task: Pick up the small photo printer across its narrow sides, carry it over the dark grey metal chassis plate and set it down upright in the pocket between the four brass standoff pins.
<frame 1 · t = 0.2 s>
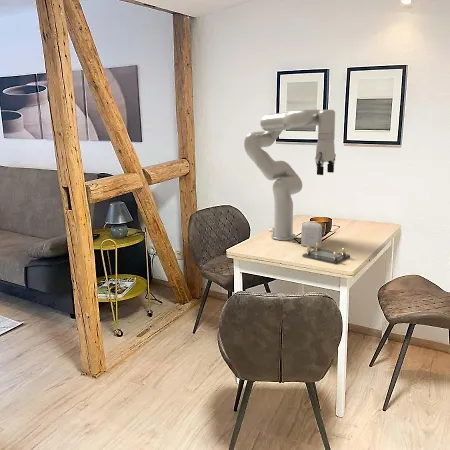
hand: (325, 173, 223), 36 cm above the table, tool pointing down, fingers open, 9 cm apart
chassis: (326, 256, 215), on the table
photo printer: (311, 246, 231), on the table
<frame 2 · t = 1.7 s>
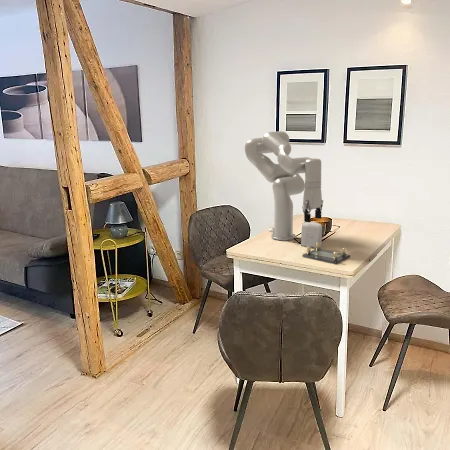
hand: (312, 220, 227), 13 cm above the table, tool pointing down, fingers open, 9 cm apart
nothing on the table moved.
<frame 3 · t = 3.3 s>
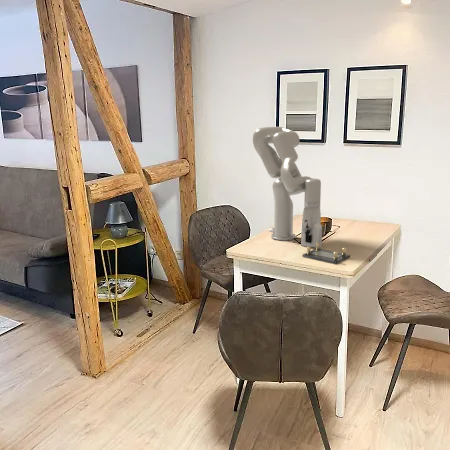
hand: (311, 240, 230), 3 cm above the table, tool pointing down, fingers closed on photo printer, 4 cm apart
photo printer: (311, 246, 231), on the table, touching gripper
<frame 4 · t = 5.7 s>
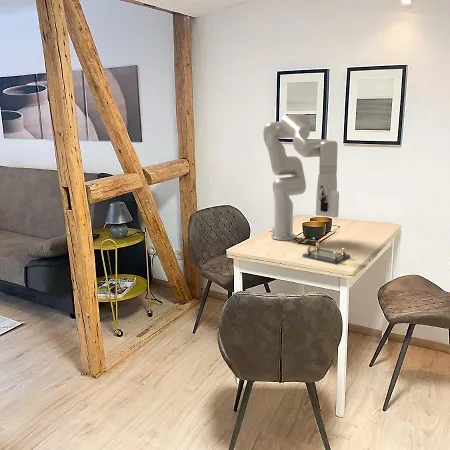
hand: (327, 209, 210), 22 cm above the table, tool pointing down, fingers closed on photo printer, 4 cm apart
photo printer: (327, 216, 211), point 19 cm above the table, touching gripper
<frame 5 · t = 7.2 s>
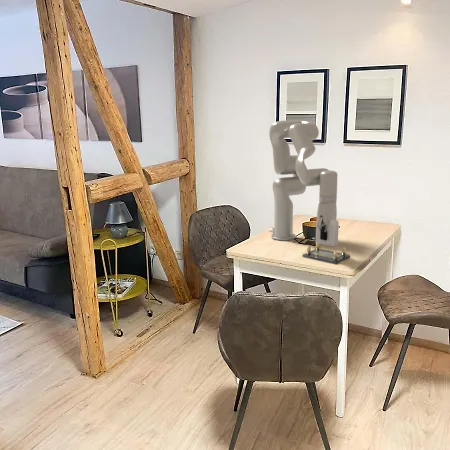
hand: (326, 238, 213), 9 cm above the table, tool pointing down, fingers closed on photo printer, 4 cm apart
photo printer: (326, 244, 213), point 6 cm above the table, touching gripper
when the fingers open (4 cm above the table, at t = 8.5 s): photo printer stays where it is, resting on chassis.
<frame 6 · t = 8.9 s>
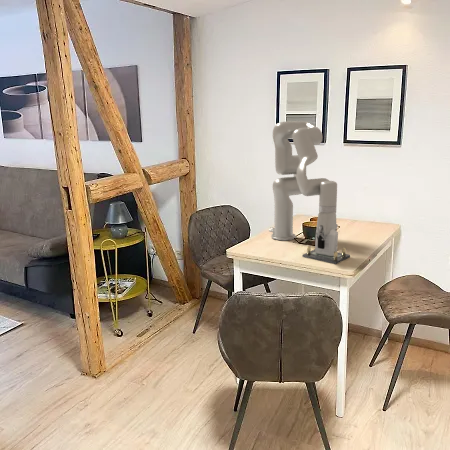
hand: (326, 245, 213), 5 cm above the table, tool pointing down, fingers open, 9 cm apart
photo printer: (326, 254, 215), point 1 cm above the table, touching chassis
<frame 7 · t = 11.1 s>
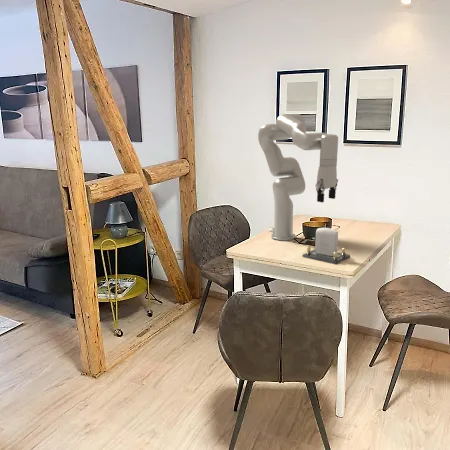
hand: (326, 200, 215), 25 cm above the table, tool pointing down, fingers open, 9 cm apart
nothing on the table moved.
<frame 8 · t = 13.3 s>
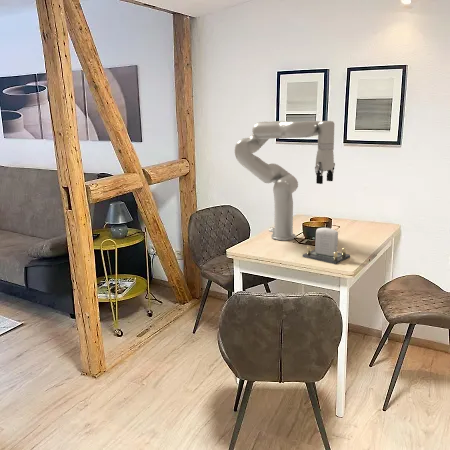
hand: (324, 182, 232), 30 cm above the table, tool pointing down, fingers open, 9 cm apart
nothing on the table moved.
at the end: photo printer inside the target area on the chassis (0.1 cm from its centre), point 0.9 cm above the chassis's base; photo printer tilted 0°; the gripper is holding nothing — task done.
